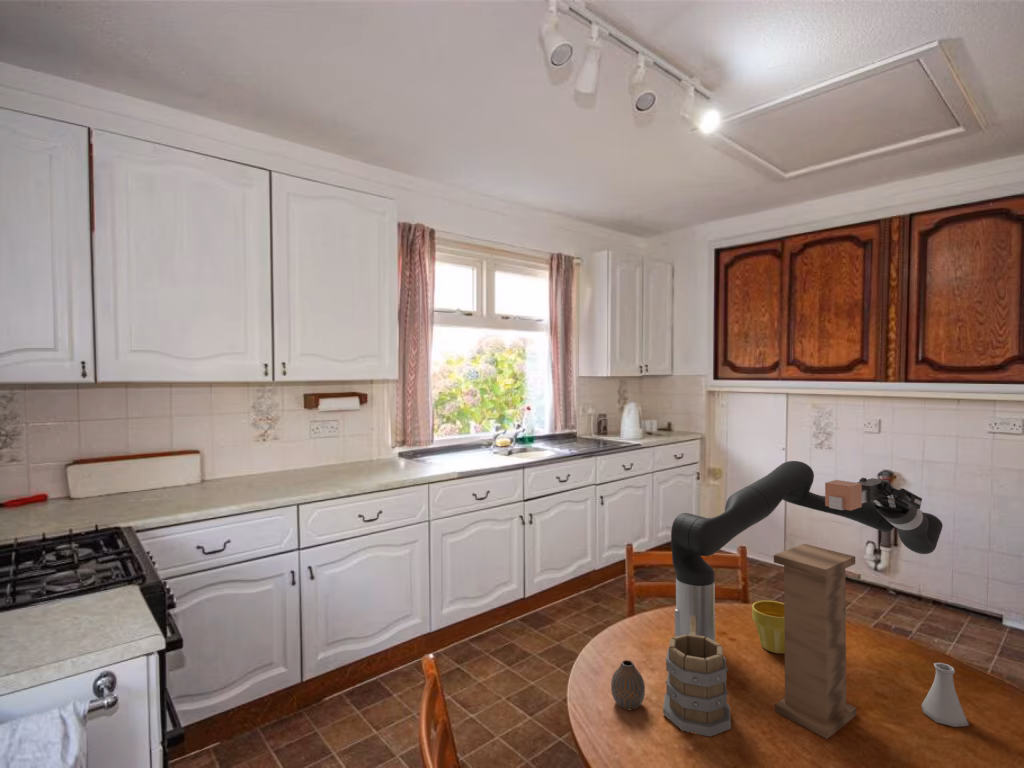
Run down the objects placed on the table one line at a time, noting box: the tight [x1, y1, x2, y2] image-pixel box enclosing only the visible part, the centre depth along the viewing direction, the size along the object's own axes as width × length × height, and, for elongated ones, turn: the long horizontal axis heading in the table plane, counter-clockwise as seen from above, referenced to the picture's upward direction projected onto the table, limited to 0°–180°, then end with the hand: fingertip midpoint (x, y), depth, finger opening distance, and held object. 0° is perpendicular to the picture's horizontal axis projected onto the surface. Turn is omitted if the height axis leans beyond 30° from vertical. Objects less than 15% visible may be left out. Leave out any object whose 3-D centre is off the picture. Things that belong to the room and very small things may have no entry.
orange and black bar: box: [824, 477, 890, 511], centre depth 117 cm, size 22×5×5 cm, turn 124°
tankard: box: [662, 616, 732, 738], centre depth 110 cm, size 20×13×15 cm, turn 160°
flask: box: [921, 662, 970, 728], centre depth 105 cm, size 7×7×10 cm
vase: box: [610, 659, 646, 710], centre depth 110 cm, size 7×7×9 cm
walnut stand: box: [773, 543, 857, 740], centre depth 106 cm, size 12×10×32 cm
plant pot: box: [751, 600, 785, 655], centre depth 132 cm, size 10×10×10 cm
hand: (872, 482), depth 121 cm, fingers closed on orange and black bar, 3 cm apart
